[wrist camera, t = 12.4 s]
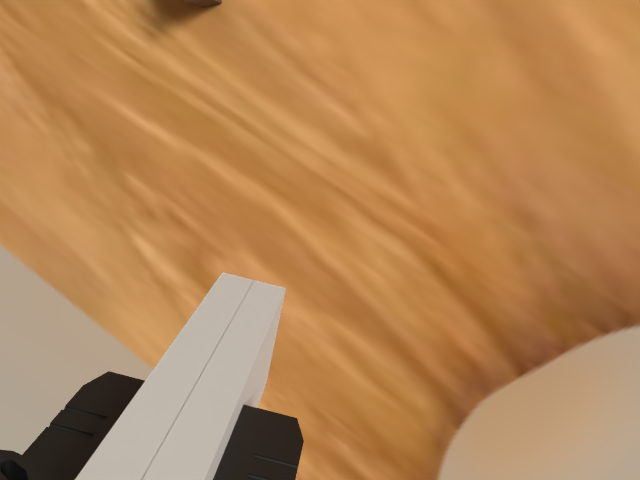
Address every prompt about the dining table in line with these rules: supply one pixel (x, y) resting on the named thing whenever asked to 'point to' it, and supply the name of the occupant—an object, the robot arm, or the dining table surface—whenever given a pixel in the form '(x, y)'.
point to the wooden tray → (204, 2)
